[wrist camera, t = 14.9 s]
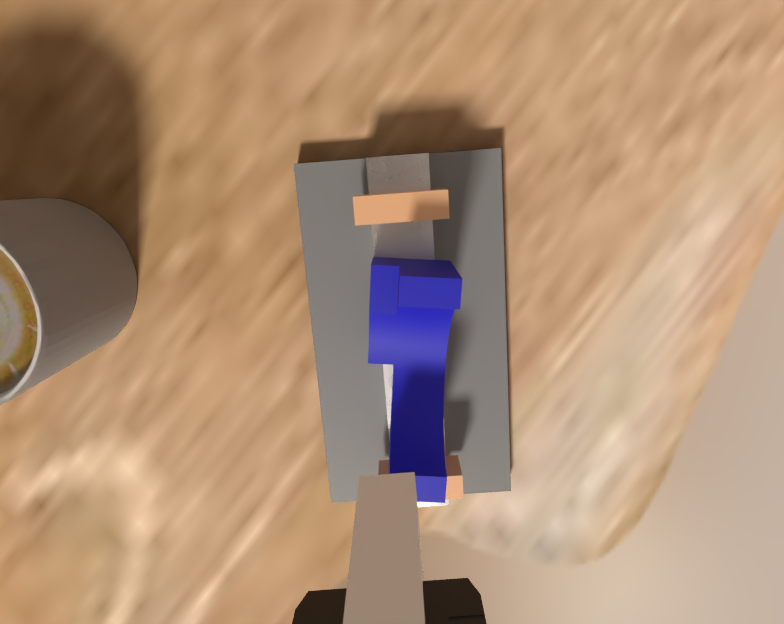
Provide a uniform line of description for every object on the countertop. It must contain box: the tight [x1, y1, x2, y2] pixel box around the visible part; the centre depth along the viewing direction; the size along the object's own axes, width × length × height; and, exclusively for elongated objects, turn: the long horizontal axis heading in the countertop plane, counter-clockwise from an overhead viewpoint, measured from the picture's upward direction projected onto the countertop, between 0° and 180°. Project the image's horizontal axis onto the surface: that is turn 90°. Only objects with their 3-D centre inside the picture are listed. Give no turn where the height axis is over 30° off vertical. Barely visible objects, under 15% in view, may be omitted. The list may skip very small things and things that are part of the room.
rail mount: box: [294, 148, 511, 507], centre depth 34 cm, size 22×12×5 cm, turn 4°
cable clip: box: [368, 257, 462, 503], centre depth 31 cm, size 12×4×6 cm, turn 177°
